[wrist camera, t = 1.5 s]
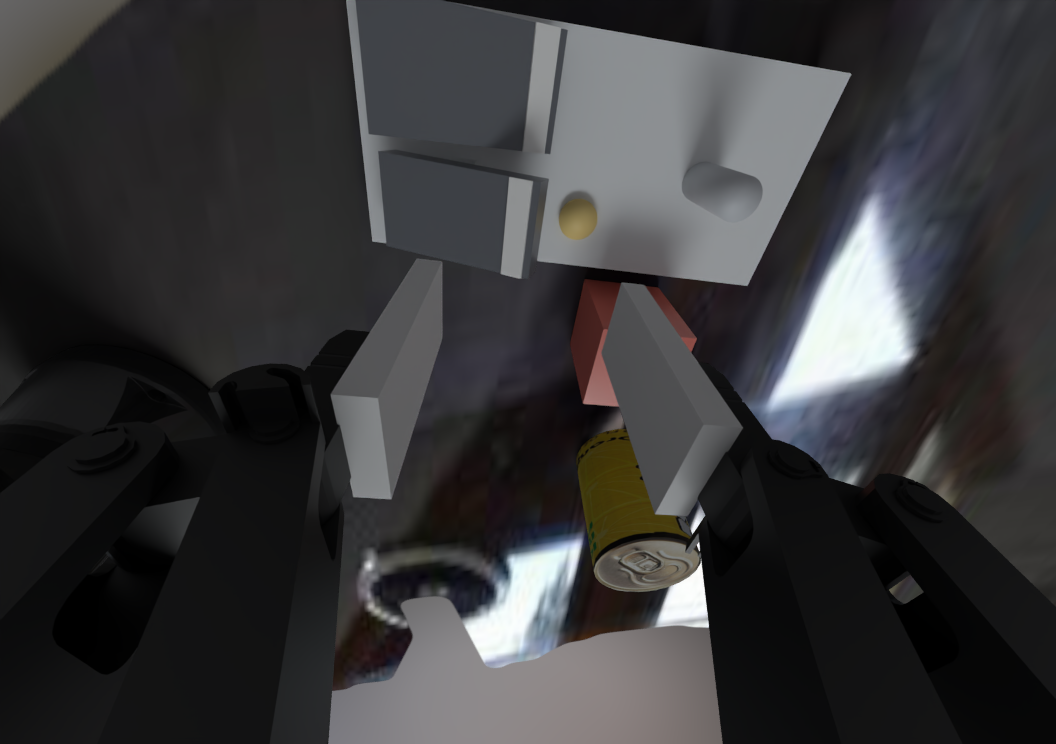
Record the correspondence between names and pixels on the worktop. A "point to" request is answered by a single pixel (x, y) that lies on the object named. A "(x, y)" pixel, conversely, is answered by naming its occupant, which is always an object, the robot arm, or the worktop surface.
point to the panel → (652, 153)
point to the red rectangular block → (593, 332)
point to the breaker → (459, 74)
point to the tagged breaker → (463, 212)
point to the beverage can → (629, 520)
